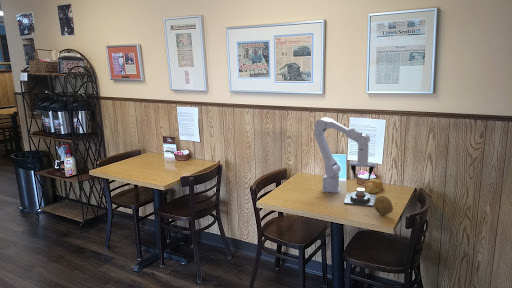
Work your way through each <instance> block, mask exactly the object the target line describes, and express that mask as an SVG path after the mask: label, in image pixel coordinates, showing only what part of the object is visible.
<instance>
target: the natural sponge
mask: <svg viewBox="0 0 512 288" xmlns="http://www.w3.org/2000/svg"><path fill="white" fill-rule="evenodd" d="M373 208H374V210H375V212H377V214H379V215H380V216H386V215H389V214H392V213H393V210H394V206H393V204H392V202H391V200H390V198H389V197H387V196H386V195H380V196H378V197H376V200H375V201H374V207H373Z"/></svg>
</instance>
